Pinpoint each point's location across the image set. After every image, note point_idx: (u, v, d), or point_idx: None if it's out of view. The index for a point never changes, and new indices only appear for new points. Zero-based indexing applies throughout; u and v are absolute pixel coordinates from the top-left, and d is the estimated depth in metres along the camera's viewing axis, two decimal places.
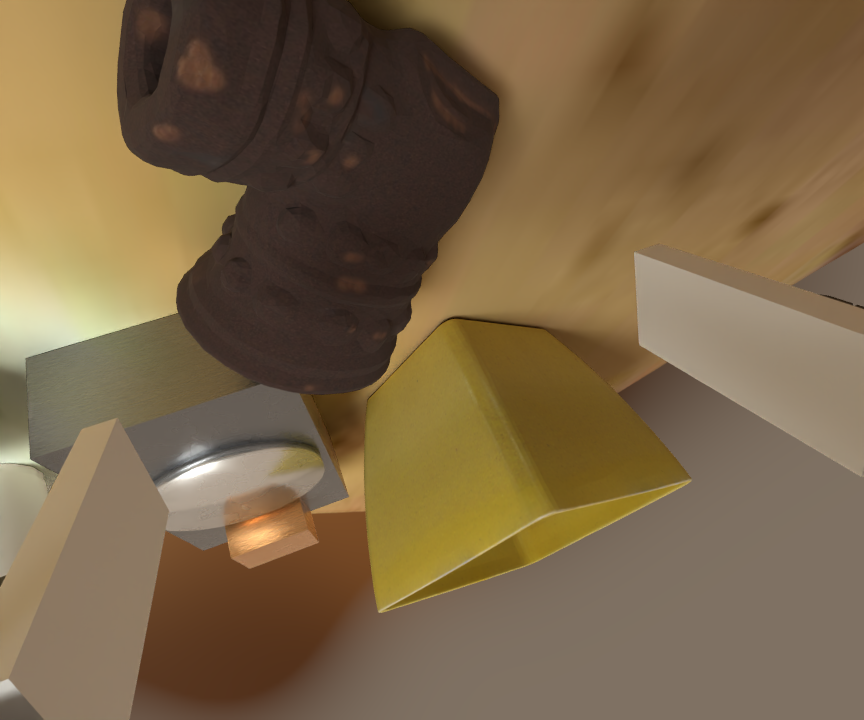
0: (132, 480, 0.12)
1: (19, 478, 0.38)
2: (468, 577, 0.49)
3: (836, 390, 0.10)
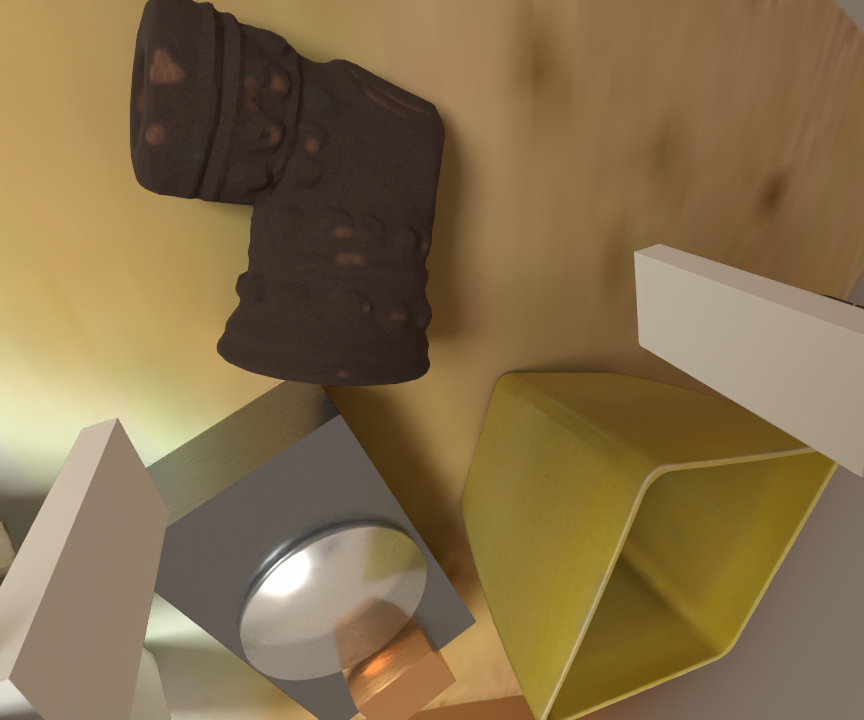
0: (132, 480, 0.12)
1: None
2: (646, 676, 0.39)
3: (836, 390, 0.10)
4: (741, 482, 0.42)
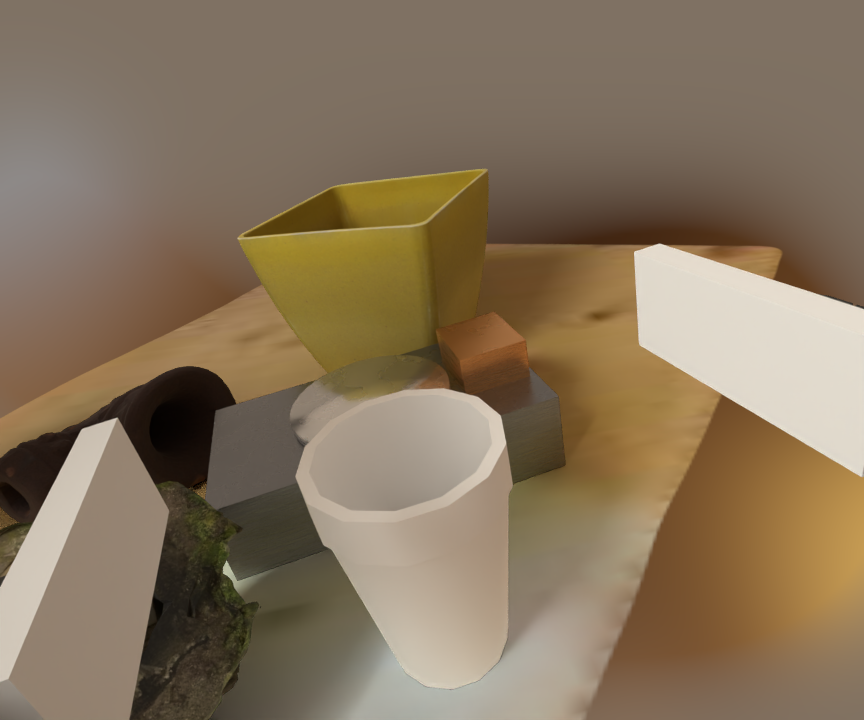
0: (132, 480, 0.12)
1: None
2: None
3: (836, 390, 0.10)
4: (386, 221, 0.65)
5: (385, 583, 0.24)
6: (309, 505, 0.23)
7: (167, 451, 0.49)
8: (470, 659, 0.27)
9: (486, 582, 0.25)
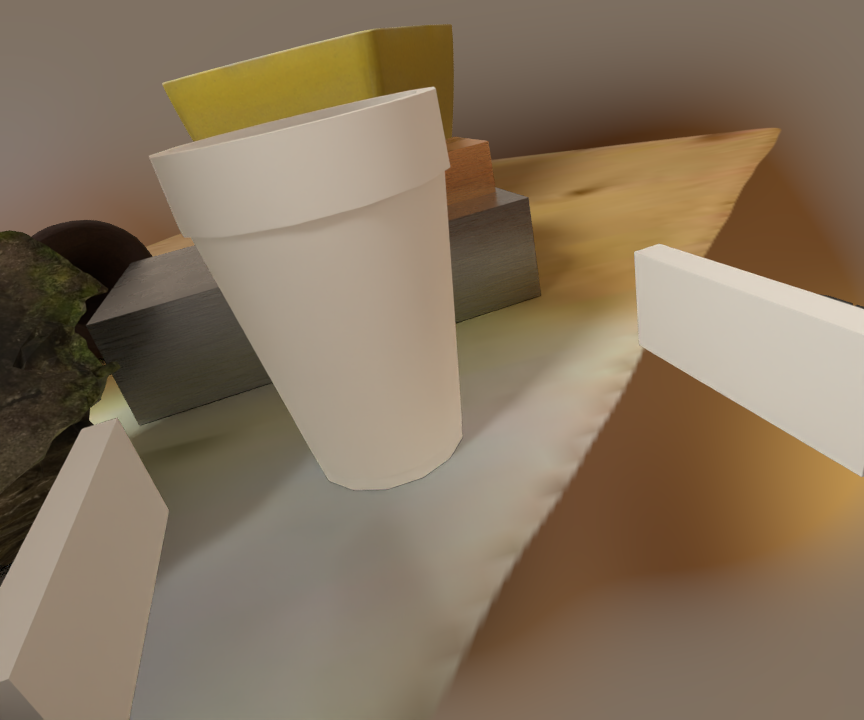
0: (132, 480, 0.12)
1: None
2: None
3: (836, 390, 0.10)
4: None
5: (269, 280, 0.17)
6: (153, 159, 0.16)
7: None
8: (406, 437, 0.21)
9: (418, 303, 0.19)
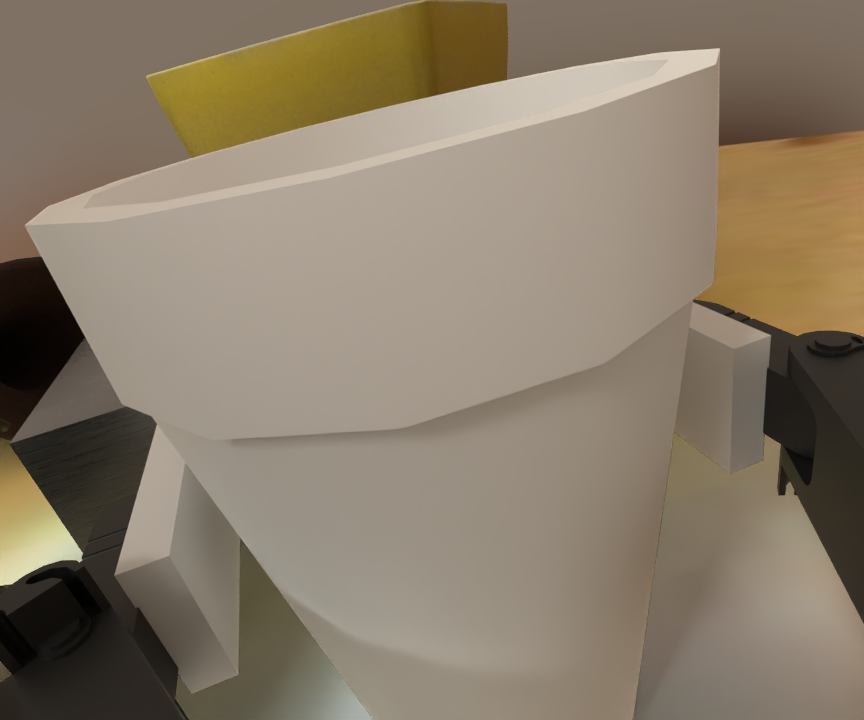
0: None
1: None
2: None
3: (705, 393, 0.11)
4: None
5: (327, 521, 0.07)
6: (30, 229, 0.06)
7: (31, 390, 0.33)
8: None
9: (642, 525, 0.08)
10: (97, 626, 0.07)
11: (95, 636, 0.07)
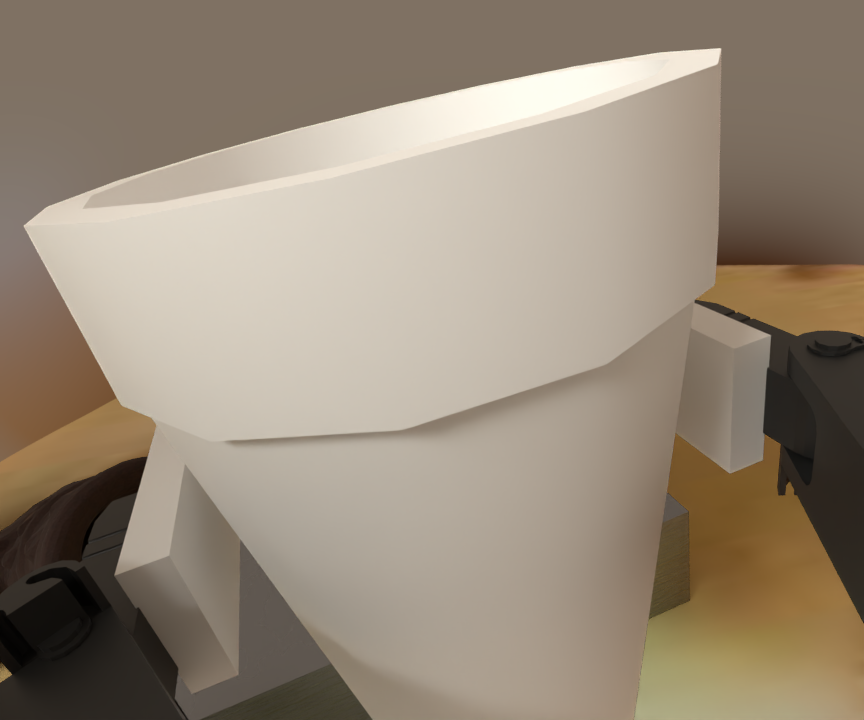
0: None
1: None
2: None
3: (705, 393, 0.11)
4: None
5: (328, 523, 0.07)
6: (30, 230, 0.06)
7: None
8: None
9: (644, 526, 0.08)
10: (97, 626, 0.07)
11: (95, 636, 0.07)
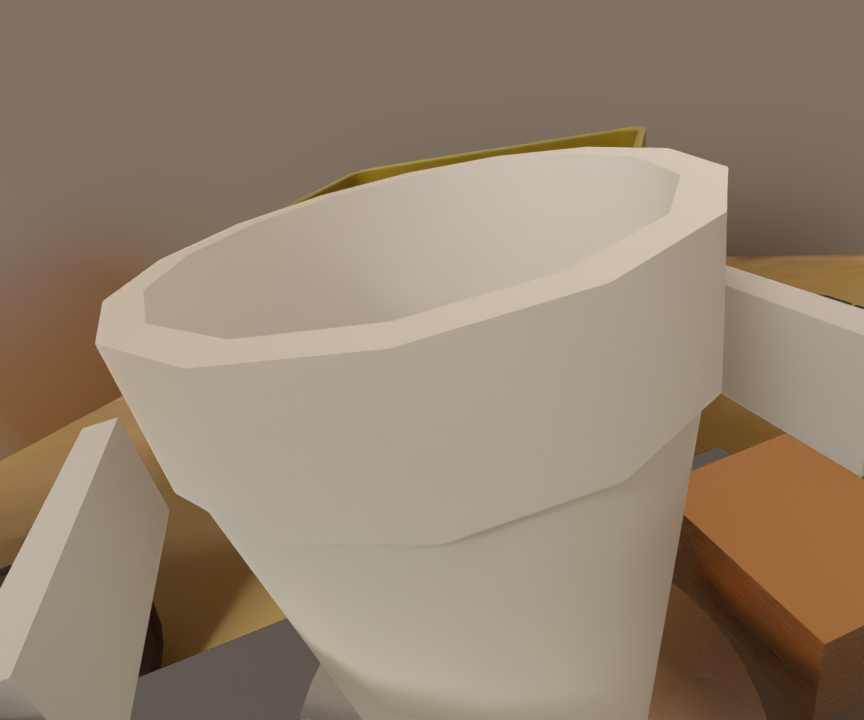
0: (133, 480, 0.12)
1: None
2: None
3: (835, 390, 0.10)
4: None
5: (366, 607, 0.07)
6: (101, 348, 0.07)
7: None
8: None
9: (653, 596, 0.09)
10: None
11: None
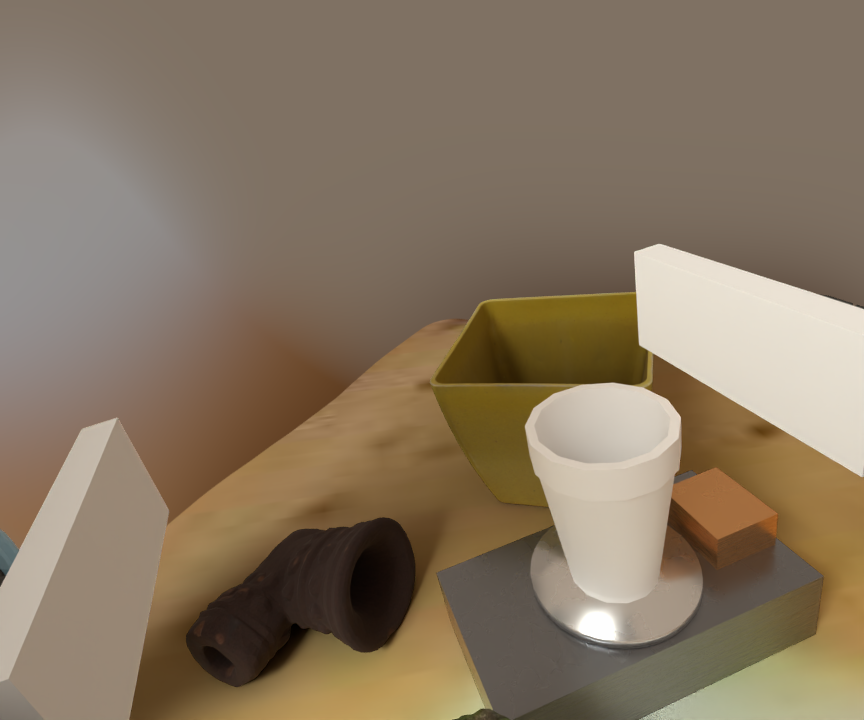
0: (132, 480, 0.12)
1: None
2: None
3: (836, 390, 0.10)
4: (537, 335, 0.65)
5: (602, 516, 0.34)
6: (552, 462, 0.34)
7: (352, 601, 0.50)
8: (644, 578, 0.38)
9: (664, 517, 0.36)
10: None
11: None
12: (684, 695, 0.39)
